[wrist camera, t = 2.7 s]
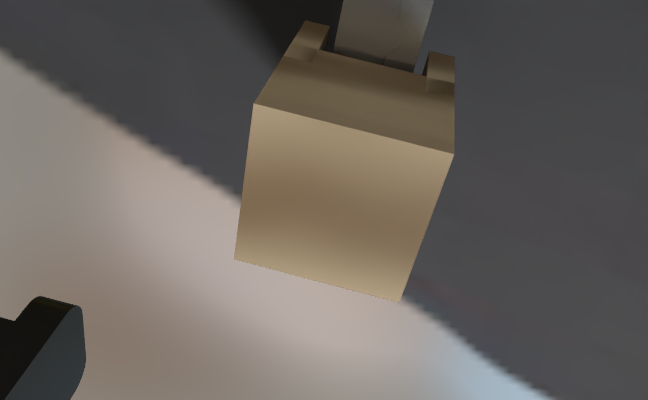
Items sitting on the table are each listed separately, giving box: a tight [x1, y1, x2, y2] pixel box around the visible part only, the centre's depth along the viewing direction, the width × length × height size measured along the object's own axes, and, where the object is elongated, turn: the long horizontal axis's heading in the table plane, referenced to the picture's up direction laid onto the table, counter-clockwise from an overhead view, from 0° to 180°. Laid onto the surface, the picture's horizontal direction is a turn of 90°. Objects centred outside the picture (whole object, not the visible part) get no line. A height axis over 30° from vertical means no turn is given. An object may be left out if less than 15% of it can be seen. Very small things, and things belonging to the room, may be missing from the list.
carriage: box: [234, 20, 455, 303], centre depth 18 cm, size 5×5×6 cm
